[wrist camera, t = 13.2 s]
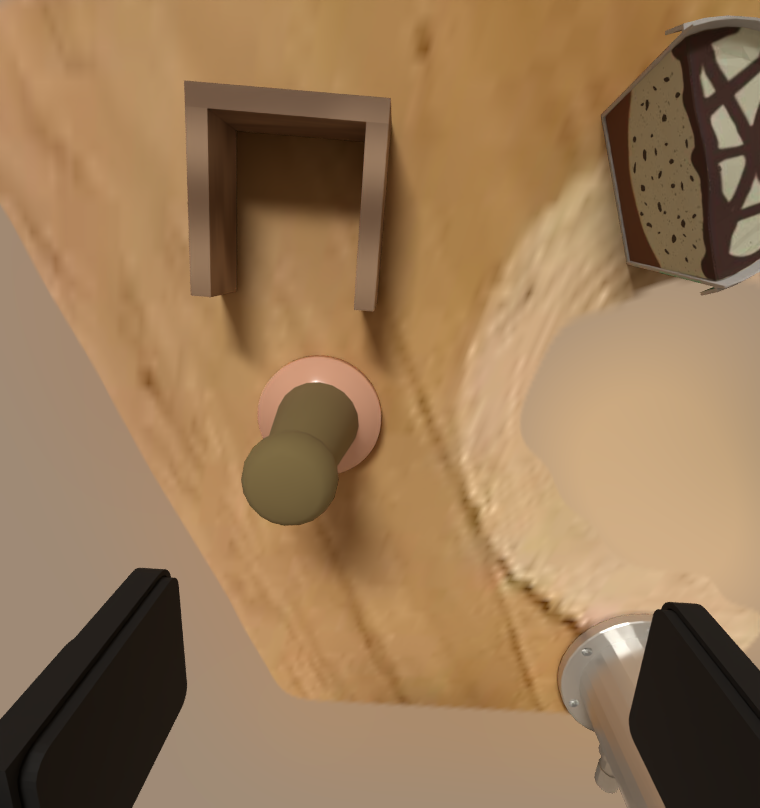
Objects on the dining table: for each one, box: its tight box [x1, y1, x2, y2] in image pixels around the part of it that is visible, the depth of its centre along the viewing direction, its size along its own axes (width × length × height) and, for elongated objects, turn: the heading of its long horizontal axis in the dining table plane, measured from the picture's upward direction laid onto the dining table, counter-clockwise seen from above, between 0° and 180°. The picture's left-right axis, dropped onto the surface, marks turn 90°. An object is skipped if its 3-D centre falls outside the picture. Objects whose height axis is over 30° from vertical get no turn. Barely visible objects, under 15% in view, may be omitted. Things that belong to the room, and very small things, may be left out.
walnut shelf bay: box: [184, 81, 392, 311], centre depth 30 cm, size 11×11×5 cm
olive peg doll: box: [241, 382, 359, 526], centre depth 30 cm, size 6×6×11 cm
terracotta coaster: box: [258, 355, 381, 473], centre depth 36 cm, size 9×9×1 cm
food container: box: [601, 16, 760, 295], centre depth 26 cm, size 12×6×10 cm, turn 18°
